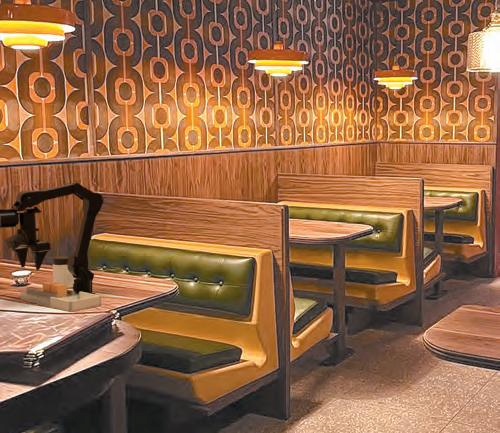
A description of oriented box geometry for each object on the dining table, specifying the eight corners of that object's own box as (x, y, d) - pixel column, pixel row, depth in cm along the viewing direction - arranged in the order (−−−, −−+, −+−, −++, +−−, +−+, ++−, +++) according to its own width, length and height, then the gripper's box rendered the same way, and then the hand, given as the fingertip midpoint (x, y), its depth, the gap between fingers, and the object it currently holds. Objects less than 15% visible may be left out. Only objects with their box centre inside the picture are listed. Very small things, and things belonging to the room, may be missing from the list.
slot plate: (50, 294, 269) (50, 283, 269) (80, 300, 257) (80, 290, 257) (20, 299, 260) (20, 288, 259) (50, 306, 247) (49, 295, 247)
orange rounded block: (52, 292, 261) (52, 281, 260) (59, 293, 258) (58, 282, 258) (43, 293, 258) (42, 283, 257) (49, 295, 255) (49, 284, 255)
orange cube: (60, 293, 257) (60, 283, 257) (67, 295, 255) (66, 284, 254) (51, 295, 254) (50, 284, 254) (57, 297, 252) (57, 286, 251)
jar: (60, 289, 278) (59, 259, 277) (48, 286, 283) (47, 257, 282) (79, 286, 285) (78, 256, 284) (67, 283, 290) (66, 254, 289)
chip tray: (81, 300, 257) (80, 291, 257) (101, 305, 249) (101, 295, 249) (50, 306, 247) (50, 297, 247) (70, 311, 239) (70, 301, 239)
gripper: (-7, 226, 253) (-4, 269, 255) (23, 230, 242) (25, 274, 243) (20, 223, 262) (23, 264, 264) (50, 226, 250) (53, 269, 252)
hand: (30, 268), depth 255 cm, fingers open, 9 cm apart
